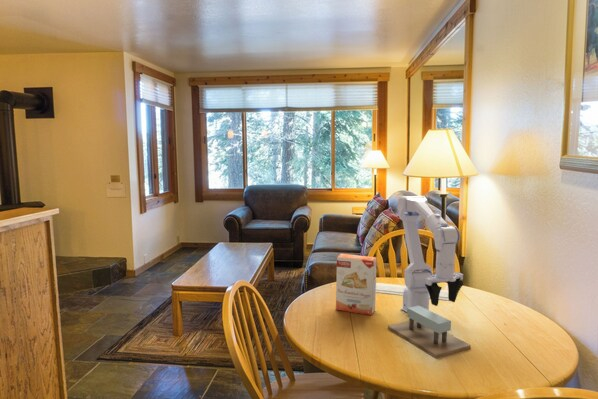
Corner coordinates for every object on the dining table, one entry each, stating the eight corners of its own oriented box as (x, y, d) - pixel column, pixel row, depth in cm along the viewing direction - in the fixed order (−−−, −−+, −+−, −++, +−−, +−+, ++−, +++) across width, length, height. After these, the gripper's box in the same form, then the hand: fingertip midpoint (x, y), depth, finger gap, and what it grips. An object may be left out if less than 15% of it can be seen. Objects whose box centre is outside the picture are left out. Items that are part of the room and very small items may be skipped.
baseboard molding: (450, 303, 160) (449, 293, 171) (450, 296, 160) (449, 287, 171) (372, 294, 170) (376, 286, 181) (372, 287, 170) (376, 279, 181)
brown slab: (387, 328, 136) (388, 314, 135) (419, 321, 142) (420, 307, 141) (436, 358, 116) (436, 341, 115) (470, 348, 122) (471, 332, 121)
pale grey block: (406, 316, 133) (407, 307, 133) (418, 313, 135) (418, 305, 135) (438, 333, 121) (438, 324, 120) (450, 330, 123) (451, 321, 123)
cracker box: (335, 310, 151) (336, 256, 149) (339, 305, 157) (340, 252, 154) (372, 316, 146) (373, 260, 143) (375, 310, 151) (376, 256, 149)
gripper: (437, 268, 124) (435, 310, 126) (471, 263, 130) (468, 303, 132) (421, 263, 130) (419, 303, 132) (454, 258, 137) (452, 296, 138)
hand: (443, 303), depth 132 cm, fingers open, 7 cm apart
